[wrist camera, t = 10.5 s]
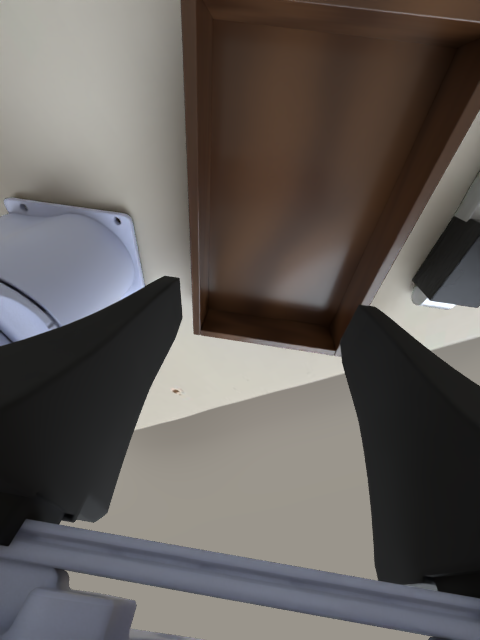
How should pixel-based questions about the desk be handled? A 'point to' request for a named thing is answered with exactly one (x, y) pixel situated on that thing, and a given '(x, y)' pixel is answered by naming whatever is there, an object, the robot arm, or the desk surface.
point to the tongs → (453, 260)
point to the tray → (315, 153)
